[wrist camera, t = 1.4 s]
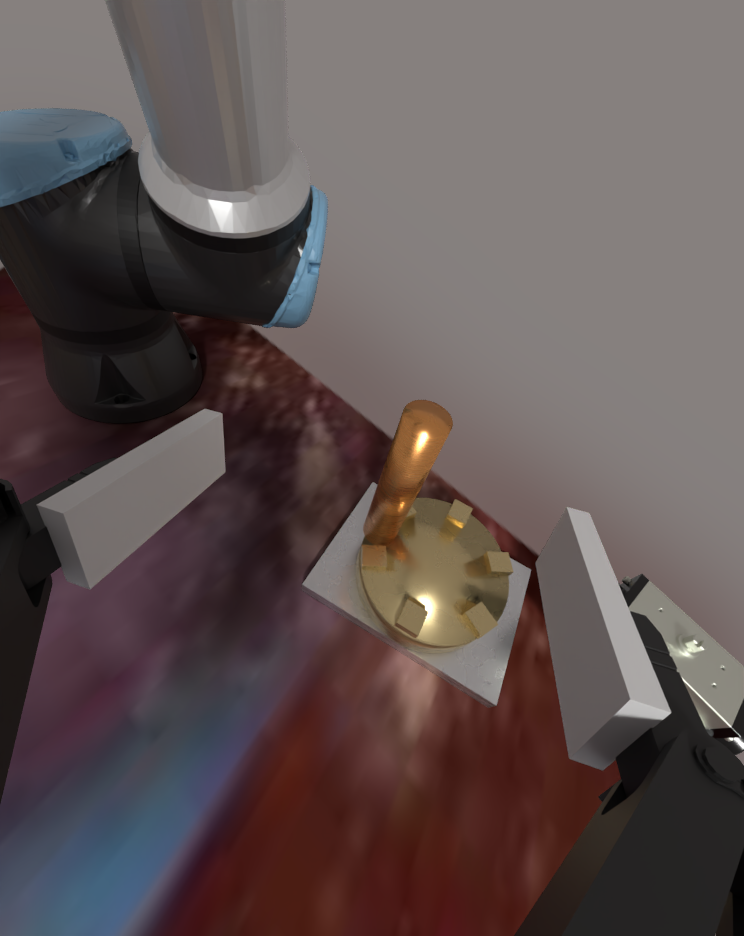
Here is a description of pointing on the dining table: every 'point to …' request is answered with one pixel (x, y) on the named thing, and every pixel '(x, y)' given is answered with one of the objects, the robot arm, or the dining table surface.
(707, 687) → the pneumatic valve
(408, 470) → the brass lugged disc
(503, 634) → the flange plate
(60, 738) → the dining table surface
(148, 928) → the dining table surface
